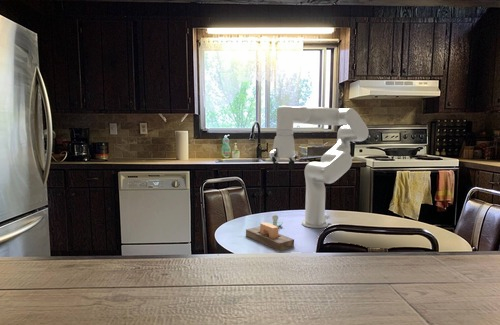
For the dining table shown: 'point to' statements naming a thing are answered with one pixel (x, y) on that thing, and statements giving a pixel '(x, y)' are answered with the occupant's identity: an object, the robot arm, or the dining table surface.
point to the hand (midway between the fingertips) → (283, 170)
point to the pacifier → (275, 221)
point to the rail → (270, 239)
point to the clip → (269, 230)
